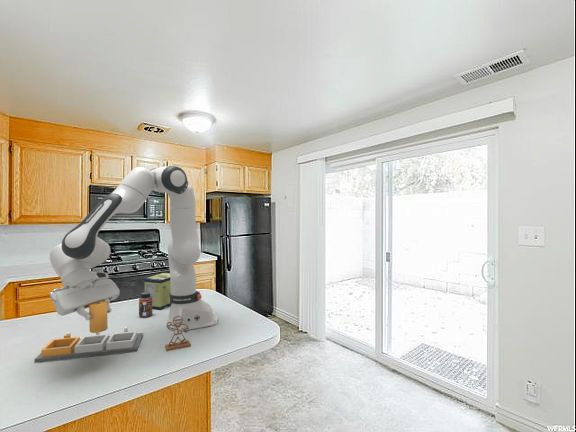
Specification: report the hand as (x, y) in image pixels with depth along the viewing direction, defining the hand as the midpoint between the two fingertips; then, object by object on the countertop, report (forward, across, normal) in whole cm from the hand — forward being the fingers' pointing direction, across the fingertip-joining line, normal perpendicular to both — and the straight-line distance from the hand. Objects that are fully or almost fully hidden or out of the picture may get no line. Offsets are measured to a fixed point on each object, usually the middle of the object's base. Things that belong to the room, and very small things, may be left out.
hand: (99, 315), depth 105 cm
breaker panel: (+2, +7, +22) cm, 23 cm away
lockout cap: (+3, 0, +4) cm, 5 cm away
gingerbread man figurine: (+22, +21, +2) cm, 31 cm away
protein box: (-8, +56, +33) cm, 65 cm away
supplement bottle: (-4, +40, +29) cm, 49 cm away
